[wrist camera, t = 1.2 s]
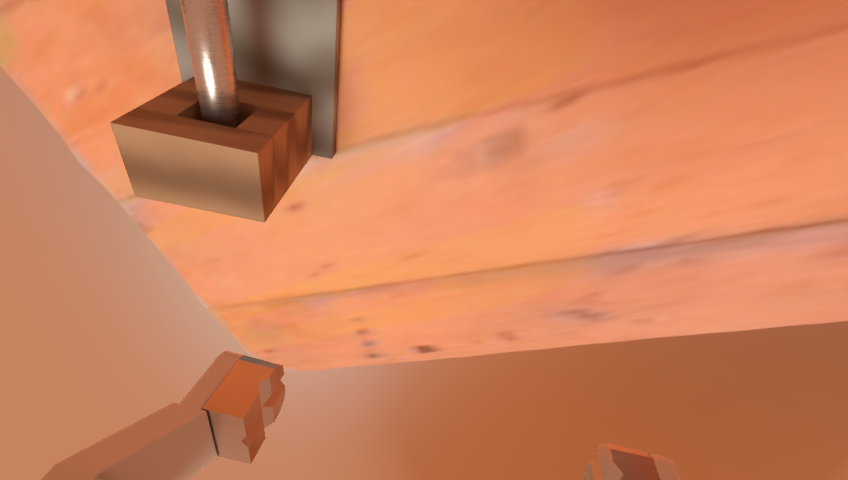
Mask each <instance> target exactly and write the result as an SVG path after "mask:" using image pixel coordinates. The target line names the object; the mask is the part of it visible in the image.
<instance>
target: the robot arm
mask: <svg viewBox="0 0 848 480" xmlns="http://www.w3.org/2000/svg"><path fill="white" fill-rule="evenodd" d="M283 375H284V371H283V365H279V364H275V363H271V362H268V361H264V360H260V359H256V358H252V357H248V356H245V355H241V354H237V353H233V352H229V351H225V352H223V353H222V354H220V355H219V356H218V357H217V358H216V360H215V361H214V362H213V364H211V366H210V367H209V368H208V369H207V371H206V372H205V373H204V374H203V375H202V377H201V378H200V379H199V381H198V382H197V383H196V384H195V385H194V386H193V388H192V389H191V390H190V391H189V393H188V394H187V395H186V396H185V398H184V399H183V400H182V401H181V402H180V404H178V403H172V404H170V405H168V406H166V407H164V408H162V409H161V410H158V411H157V412H155V413H153V414H151V415H149V416H147V417H145V418H143V419H141V420H139V421H137V422H136V423H134V424H132V425H130V426H128V427H126V428H124V429H122V430H120V431H118V432H117V433H114V434H113V435H111V436H109V437H107V438H105V439H103V440H101V441H99V442H97V443H95V444H93V445H91V446H90V447H88V448H86V449H84V450H82V451H80V452H78V453H76V454H74V455H72V456H71V457H69V458H67V459H65V460H63V461H61V462H59V463H57V464H56V465H55V466H54V467H53V468H52V469H51V470H50V471H49V472H48V473H47V474H46V475H45V476H44V477H43V478H42V479H41V480H190V479H191V478H193V477H194V476H195V475H197V474H198V473H199V472H200V471H202V470H203V469H204V468H206V467H207V466H208V465H210V464H211V463H212V462H214V461H215V460H216V459H217V458H218V456H220V457H224V458H229V459H233V460H237V461H242V462H246V463H250V464H251V463H252V461H253V459H254V458H255V456H256V454H257V452H258V450H259V449H260V447H261V445H262V443H263V441H264V440H265V432H264V428H265V427H267V426H269V425H270V424H272V423H273V422H274V421H275V420H276V418H277V416H278V414H279V412H280V409H281V406H282V404H283V401H284V395H285V385H284V384H283V383H282V382H281V381H280V380H281V378H282V376H283ZM597 453H598V458H596V459H594V460H591V461H590V462H589V464H588V466H587V468H586V471H585V477H584V480H681V479H680V476H679V473H678V471H677V468H676V465H675V464H674V462H673V461H672V460H671V459H670V458H667V457H663V456H658V455H654V454H649V453H646V452H644V451H639V450H635V449H631V448H626V447H621V446H617V445H613V444H608V443H604V444H602V445H600V447H599V448H598V450H597Z"/></svg>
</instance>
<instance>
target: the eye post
mask: <svg viewBox="0 0 848 480" xmlns="http://www.w3.org/2000/svg"><path fill="white" fill-rule="evenodd" d="M166 5H167V10H168V14H169V19H170V24H171V29H172V34H173V39H174V43H175V48H176V53H177V58H178V63H179V68H180V72H181V77H182V82H183V83H181V84H179V85H177V86H175V87H174V88H172V89H170V90H168V91H166V92H165V93H163V94H161V95H159V96H157V97H156V98H154V99H152V100H150V101H148V102H146V103H145V104H143V105H141V106H139V107H137V108H136V109H134V110H132V111H130V112H128V113H127V114H125V115H123V116H121V117H119V118H118V119H116V120H114V121H112V122H110V124H111V127H112V130H113V133H114V135H115V138H116V141H117V144H118V147H119V150H120V153H121V156H122V159H123V162H124V165H125V168H126V171H127V173H128V176H129V179H130V182H131V185H132V188H133V191H134V194H135V196H136V197H141V198H146V199H151V200H156V201H161V202H166V203H171V204H176V205H181V206H186V207H191V208H196V209H201V210H205V211H210V212H215V213H220V214H225V215H230V216H235V217H240V218H245V219H250V220H255V221H260V222H265V221H266V220H267V218H268V217H269V215H270V214H271V213H272V211H273V210H274V208H275V207H276V205H277V204H278V203H279V201H280V200H281V198H282V197H283V195H284V194H285V193H286V191H287V190H288V188H289V187H290V186H291V184H292V183H293V181H294V180H295V178H296V177H297V176H298V174H299V173H300V171H301V170H302V168H303V167H304V166H305V164H306V163H307V161H308V160H309V158H310V157H311V156H312V155H316V156H321V157H326V158H331V159H332V158H333V156H334V155H335V146H336V119H337V92H338V65H339V38H340V11H341V0H228V9H229V17H230V25H231V33H232V42H233V50H234V58H235V67H236V75H237V83H238V91H239V100H240V108H241V116H242V123H241V124H240V125H239V126H238V127H237V128H234V127H229V126H224V125H219V124H215V123H210V122H205V121H202V116H201V110H200V105H199V99H198V94H197V89H196V83H195V78H194V73H193V67H192V62H191V57H190V51H189V46H188V41H187V35H186V30H185V25H184V19H183V14H182V9H181V3H180V0H166Z"/></svg>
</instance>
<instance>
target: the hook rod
mask: <svg viewBox="0 0 848 480" xmlns="http://www.w3.org/2000/svg"><path fill="white" fill-rule="evenodd" d="M180 3H181V9H182V14H183V19H184V25H185V30H186V35H187V41H188V46H189V51H190V57H191V62H192V67H193V73H194V78H195V83H196V89H197V94H198V99H199V105H200V110H201V116H202V121H205V122H210V123H215V124H219V125H224V126H229V127H234V128H237V127H238V126H239V125H240V124H241V123H242V116H241V108H240V100H239V91H238V83H237V75H236V67H235V58H234V50H233V42H232V33H231V25H230V17H229V9H228V0H180Z"/></svg>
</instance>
